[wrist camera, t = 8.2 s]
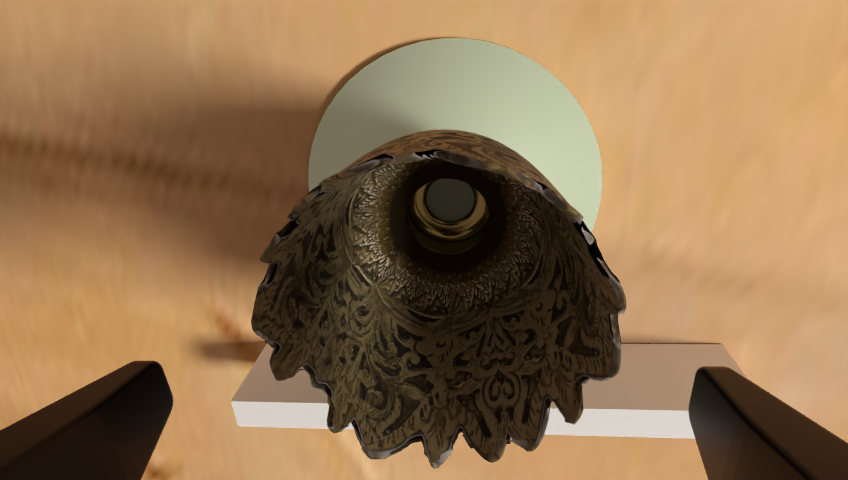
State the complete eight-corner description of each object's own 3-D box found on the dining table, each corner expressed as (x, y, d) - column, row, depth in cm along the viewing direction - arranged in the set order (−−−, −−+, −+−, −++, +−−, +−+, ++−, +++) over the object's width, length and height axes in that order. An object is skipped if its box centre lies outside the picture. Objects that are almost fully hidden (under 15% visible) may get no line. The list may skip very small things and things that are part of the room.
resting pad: (614, 26, 15) (616, 27, 14) (589, 313, 19) (590, 317, 19) (287, 48, 16) (283, 48, 16) (332, 313, 20) (330, 317, 20)
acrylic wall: (722, 344, 19) (771, 412, 16) (716, 369, 19) (763, 440, 16) (267, 341, 21) (230, 401, 18) (273, 364, 21) (238, 426, 18)
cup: (301, 161, 17) (173, 275, 10) (491, 37, 15) (505, 70, 8) (418, 320, 19) (384, 508, 12) (597, 235, 17) (684, 402, 10)
